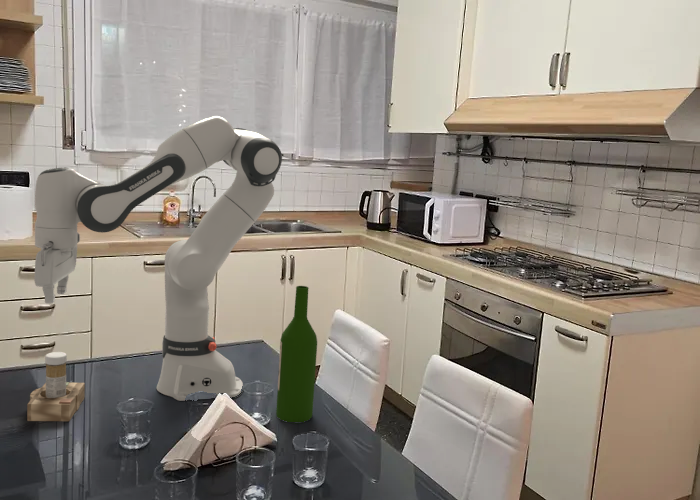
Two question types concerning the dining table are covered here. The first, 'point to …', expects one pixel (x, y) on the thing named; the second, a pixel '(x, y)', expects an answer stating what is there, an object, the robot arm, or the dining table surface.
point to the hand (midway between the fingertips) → (56, 298)
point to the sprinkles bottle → (55, 374)
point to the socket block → (55, 404)
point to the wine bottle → (297, 364)
